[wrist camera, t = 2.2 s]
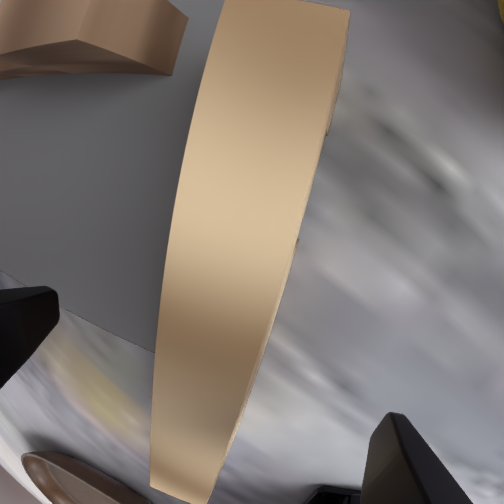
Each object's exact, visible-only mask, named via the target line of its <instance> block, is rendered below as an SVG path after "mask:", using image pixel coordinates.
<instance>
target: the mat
mask: <svg viewBox="0 0 504 504" xmlns="http://www.w3.org/2000/svg"><path fill="white" fill-rule="evenodd" d="M167 1H169V2H170V3H171V4H172V5H174V6H175V7H176V8H177V9H178V10H180V11H181V12H182V13H183V14H184V15H186V16H187V17H188V18H189V19H188V22H187V25H186V28H185V32H184V35H183V38H182V42H181V45H180V48H179V52H178V55H177V59H176V63H175V66H174V70H173V74H172V76H165V75H150V74H129V73H77V74H56V75H42V76H31V77H22V78H13V79H6V80H0V270H2V271H3V272H5V273H6V274H8V275H9V276H11V277H12V278H14V279H16V280H17V281H19V282H20V283H22V284H24V285H25V286H27V287H35V286H48V287H50V288H52V289H54V290H55V291H56V292H57V293H58V297H59V306H61V307H63V308H64V309H66V310H68V311H70V312H72V313H73V314H75V315H77V316H79V317H81V318H83V319H85V320H87V321H89V322H90V323H92V324H94V325H96V326H98V327H100V328H102V329H104V330H106V331H108V332H110V333H112V334H114V335H116V336H119V337H121V338H123V339H125V340H127V341H129V342H131V343H133V344H136V345H138V346H140V347H142V348H144V349H147V350H149V351H151V352H154V353H155V350H156V339H157V328H158V319H159V309H160V301H161V292H162V284H163V277H164V269H165V262H166V255H167V248H168V242H169V235H170V229H171V223H172V217H173V211H174V205H175V199H176V194H177V188H178V183H179V178H180V173H181V168H182V163H183V158H184V153H185V148H186V144H187V139H188V134H189V130H190V126H191V121H192V117H193V113H194V108H195V104H196V100H197V96H198V92H199V88H200V84H201V80H202V77H203V73H204V69H205V65H206V62H207V58H208V54H209V51H210V47H211V44H212V40H213V37H214V34H215V30H216V27H217V24H218V20H219V17H220V14H221V11H222V8H223V5H224V2H225V0H167Z"/></svg>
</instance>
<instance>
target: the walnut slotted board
mask: <svg viewBox="0 0 504 504" xmlns="http://www.w3.org/2000/svg"><path fill="white" fill-rule="evenodd" d="M188 19H189V18H188V17H187V16H186V15H184V14H183V13H182V12H181V11H180V10H178V9H177V8H176V7H175V6H174V5H172V4H171V3H170V2H169V1H167V0H1V3H0V80H6V79H13V78H22V77H31V76H42V75H56V74H77V73H129V74H150V75H165V76H172V74H173V70H174V66H175V63H176V59H177V55H178V52H179V48H180V45H181V42H182V38H183V35H184V32H185V28H186V25H187V22H188Z"/></svg>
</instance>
